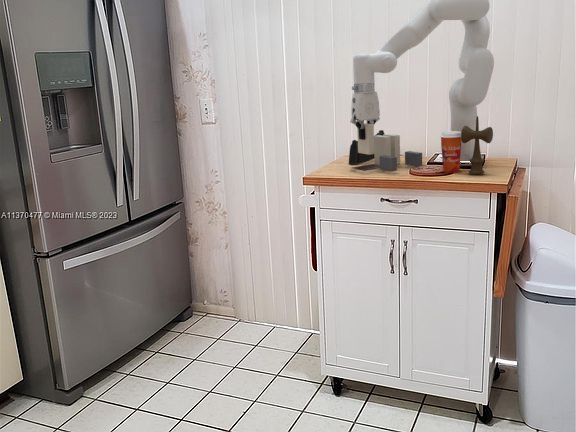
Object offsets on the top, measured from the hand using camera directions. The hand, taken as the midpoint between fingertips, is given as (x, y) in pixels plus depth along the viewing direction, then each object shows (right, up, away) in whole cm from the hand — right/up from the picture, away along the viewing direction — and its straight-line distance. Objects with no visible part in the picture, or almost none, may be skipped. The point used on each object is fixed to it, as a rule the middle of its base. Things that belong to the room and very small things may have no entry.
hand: (365, 138), depth 222 cm
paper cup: (+30, -13, -8) cm, 33 cm away
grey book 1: (+8, -13, -3) cm, 16 cm away
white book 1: (0, -5, +1) cm, 6 cm away
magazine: (+5, -7, +23) cm, 24 cm away
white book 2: (+7, -9, +6) cm, 13 cm away
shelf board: (+5, -11, +6) cm, 13 cm away
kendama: (+36, -15, -16) cm, 42 cm away
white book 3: (+11, -8, +8) cm, 16 cm away
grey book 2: (+18, -11, +2) cm, 21 cm away
